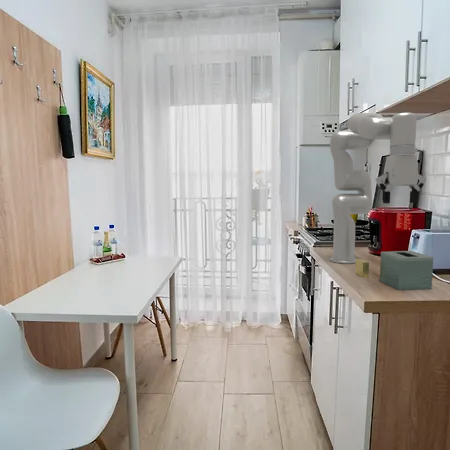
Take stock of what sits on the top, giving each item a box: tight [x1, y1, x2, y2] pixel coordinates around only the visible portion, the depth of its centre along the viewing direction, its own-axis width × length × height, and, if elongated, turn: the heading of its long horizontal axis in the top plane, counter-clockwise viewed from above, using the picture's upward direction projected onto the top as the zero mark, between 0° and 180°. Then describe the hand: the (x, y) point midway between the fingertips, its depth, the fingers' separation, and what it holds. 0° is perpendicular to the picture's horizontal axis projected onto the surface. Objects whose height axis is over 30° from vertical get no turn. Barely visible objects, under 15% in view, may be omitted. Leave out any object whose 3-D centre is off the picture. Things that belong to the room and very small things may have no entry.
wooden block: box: [355, 258, 370, 279], centre depth 138 cm, size 6×2×6 cm, turn 5°
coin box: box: [379, 250, 434, 291], centre depth 125 cm, size 12×12×11 cm
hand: (399, 203), depth 118 cm, fingers open, 9 cm apart
